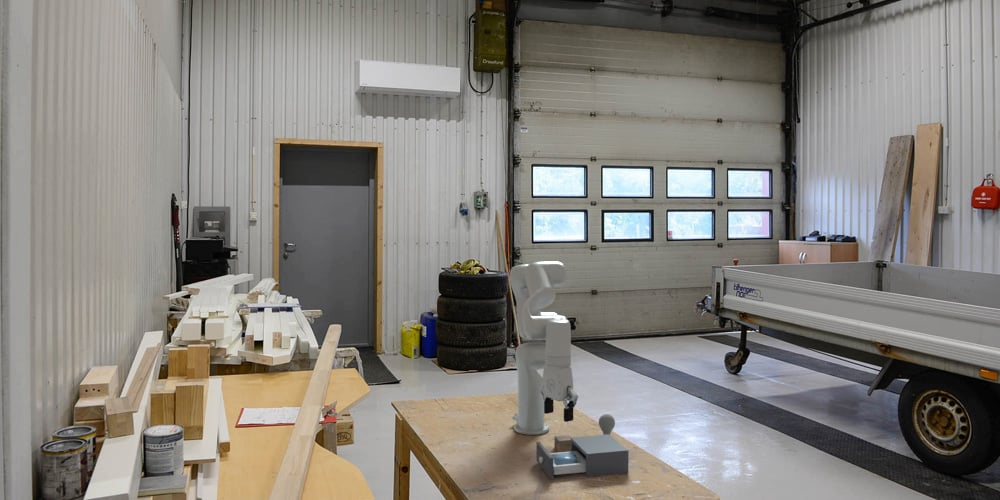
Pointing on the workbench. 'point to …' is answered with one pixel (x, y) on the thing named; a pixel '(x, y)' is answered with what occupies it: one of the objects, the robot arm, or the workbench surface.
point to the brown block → (562, 443)
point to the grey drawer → (551, 468)
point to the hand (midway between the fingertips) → (558, 416)
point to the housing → (601, 455)
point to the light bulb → (606, 423)
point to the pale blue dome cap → (565, 458)
